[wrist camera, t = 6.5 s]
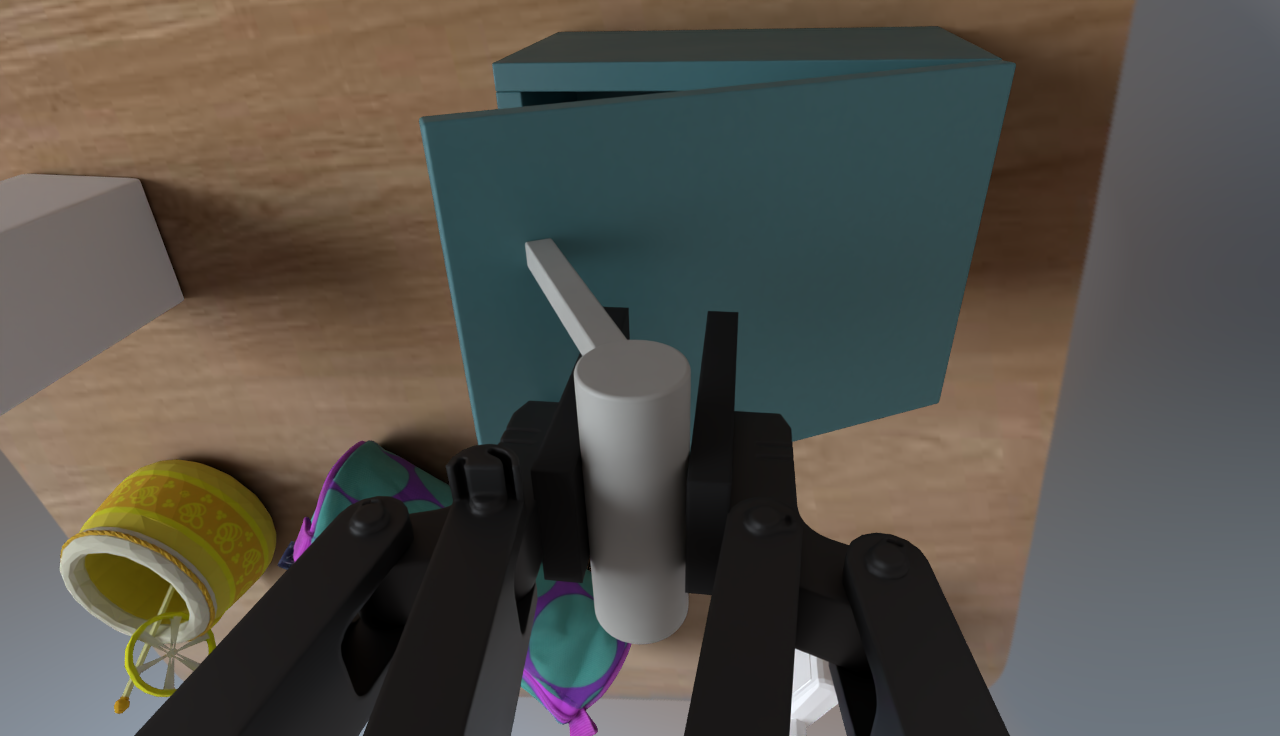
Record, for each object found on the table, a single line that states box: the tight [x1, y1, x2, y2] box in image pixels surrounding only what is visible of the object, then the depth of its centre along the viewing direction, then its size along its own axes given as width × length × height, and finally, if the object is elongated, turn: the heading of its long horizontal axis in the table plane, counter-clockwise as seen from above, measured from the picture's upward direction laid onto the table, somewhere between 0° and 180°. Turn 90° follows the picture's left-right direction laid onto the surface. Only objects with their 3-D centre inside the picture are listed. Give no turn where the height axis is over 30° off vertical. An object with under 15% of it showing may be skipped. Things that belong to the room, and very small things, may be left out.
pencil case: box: [278, 440, 632, 736], centre depth 43 cm, size 21×9×10 cm, turn 56°
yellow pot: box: [60, 459, 276, 714], centre depth 46 cm, size 13×11×12 cm
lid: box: [419, 60, 1016, 644], centre depth 18 cm, size 17×12×9 cm
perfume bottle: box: [789, 649, 838, 736], centre depth 42 cm, size 8×2×12 cm, turn 151°
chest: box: [492, 26, 1002, 109], centre depth 29 cm, size 16×12×9 cm
